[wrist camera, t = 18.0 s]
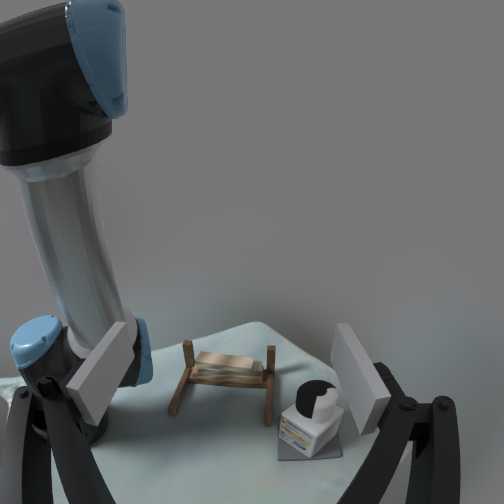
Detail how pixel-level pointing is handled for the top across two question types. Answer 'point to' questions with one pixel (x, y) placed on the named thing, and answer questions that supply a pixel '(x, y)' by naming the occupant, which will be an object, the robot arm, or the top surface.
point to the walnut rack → (187, 377)
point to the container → (312, 417)
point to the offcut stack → (227, 368)
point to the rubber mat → (292, 454)
